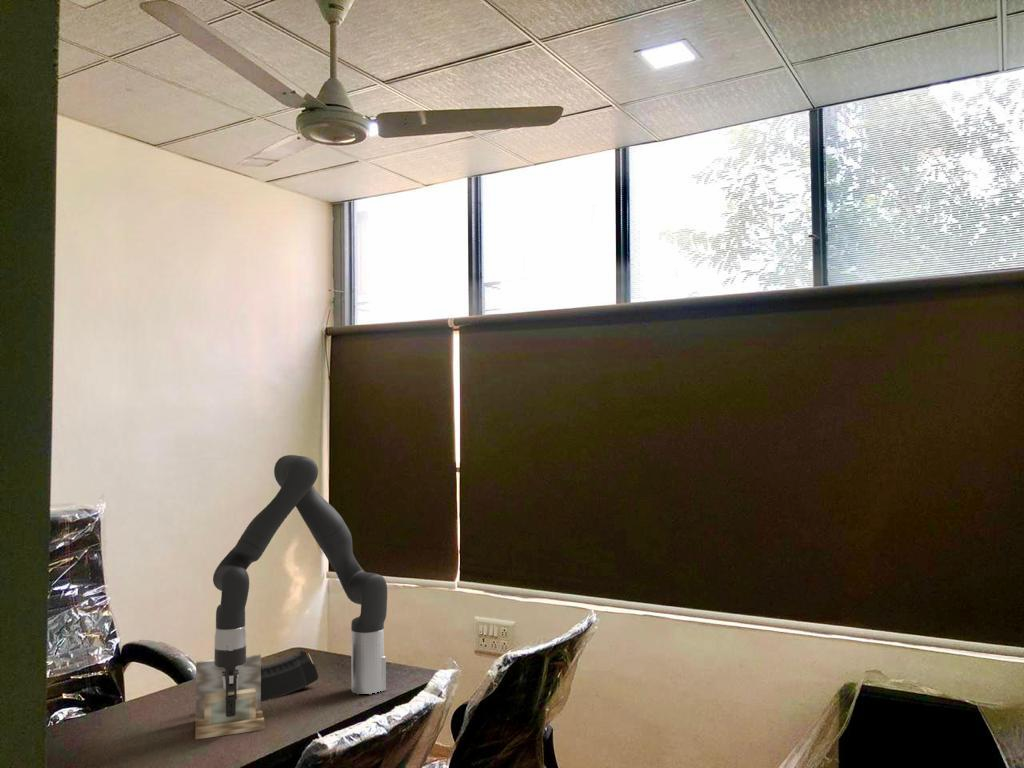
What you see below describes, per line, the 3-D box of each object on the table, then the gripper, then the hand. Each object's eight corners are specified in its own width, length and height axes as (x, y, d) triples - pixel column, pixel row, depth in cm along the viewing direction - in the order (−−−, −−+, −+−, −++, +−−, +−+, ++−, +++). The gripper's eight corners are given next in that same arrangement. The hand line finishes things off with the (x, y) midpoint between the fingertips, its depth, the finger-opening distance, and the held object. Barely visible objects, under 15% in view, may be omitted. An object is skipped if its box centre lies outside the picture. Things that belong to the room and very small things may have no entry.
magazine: (205, 681, 209) (305, 628, 229) (200, 678, 212) (300, 626, 231) (223, 739, 212) (321, 682, 231) (218, 736, 214) (315, 680, 234)
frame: (254, 720, 202) (254, 687, 202) (255, 724, 199) (255, 691, 199) (204, 727, 197) (204, 694, 198) (204, 731, 194) (204, 698, 195)
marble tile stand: (260, 711, 211) (260, 654, 212) (264, 729, 198) (264, 668, 199) (195, 720, 205) (196, 661, 206) (195, 739, 192) (196, 676, 193)
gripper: (214, 640, 205) (213, 704, 204) (215, 653, 191) (214, 722, 190) (244, 636, 207) (244, 700, 206) (247, 650, 194) (247, 717, 193)
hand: (230, 710), depth 198 cm, fingers open, 8 cm apart
